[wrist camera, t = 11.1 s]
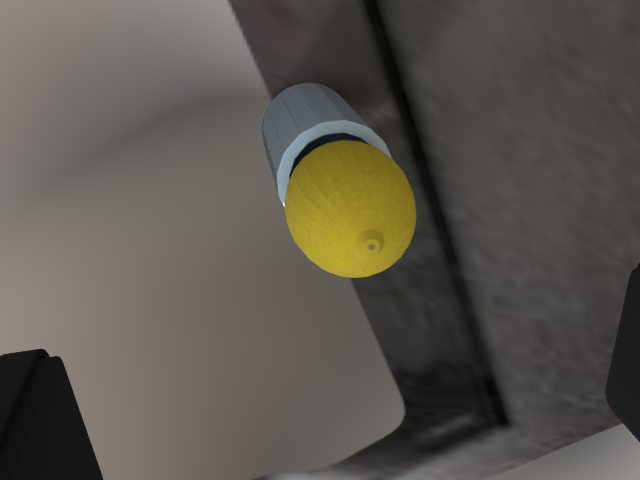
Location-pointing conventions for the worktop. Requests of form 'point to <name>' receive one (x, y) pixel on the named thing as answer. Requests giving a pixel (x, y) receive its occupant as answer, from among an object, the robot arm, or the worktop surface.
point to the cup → (309, 128)
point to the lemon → (350, 208)
